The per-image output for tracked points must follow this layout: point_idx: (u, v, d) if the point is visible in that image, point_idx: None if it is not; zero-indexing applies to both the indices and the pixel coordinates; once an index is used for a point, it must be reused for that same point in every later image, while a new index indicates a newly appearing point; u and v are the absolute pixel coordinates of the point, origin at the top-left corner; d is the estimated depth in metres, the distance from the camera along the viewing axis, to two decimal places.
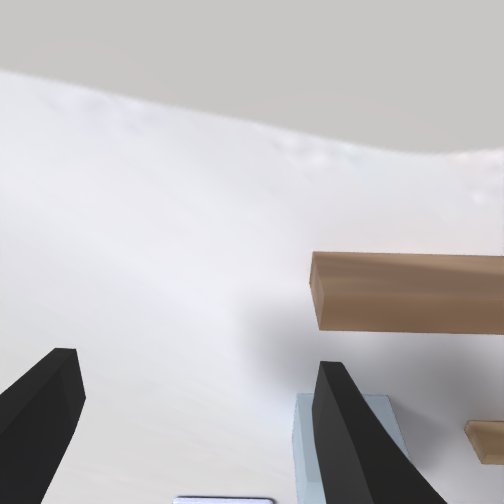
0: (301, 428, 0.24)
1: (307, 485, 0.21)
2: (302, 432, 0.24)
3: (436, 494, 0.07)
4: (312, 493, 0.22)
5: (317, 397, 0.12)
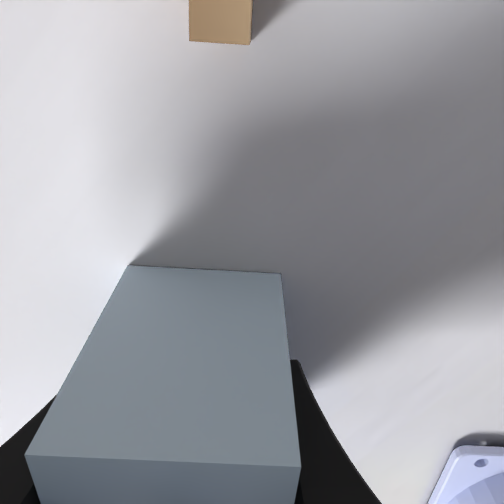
0: None
1: None
2: None
3: (368, 491, 0.07)
4: None
5: None
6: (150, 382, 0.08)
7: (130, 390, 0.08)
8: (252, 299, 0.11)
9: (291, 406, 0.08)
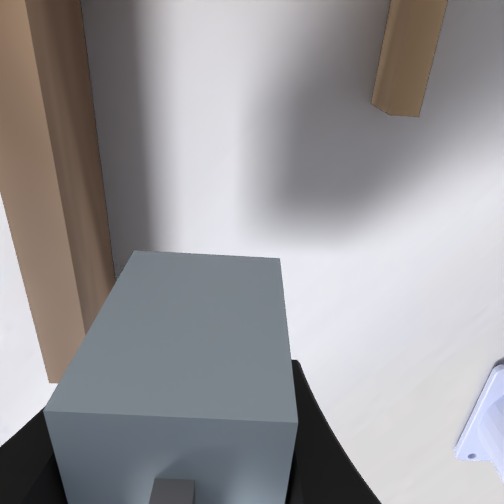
0: None
1: None
2: None
3: (368, 491, 0.07)
4: None
5: None
6: (157, 351, 0.09)
7: (140, 358, 0.08)
8: (252, 280, 0.11)
9: (289, 372, 0.08)
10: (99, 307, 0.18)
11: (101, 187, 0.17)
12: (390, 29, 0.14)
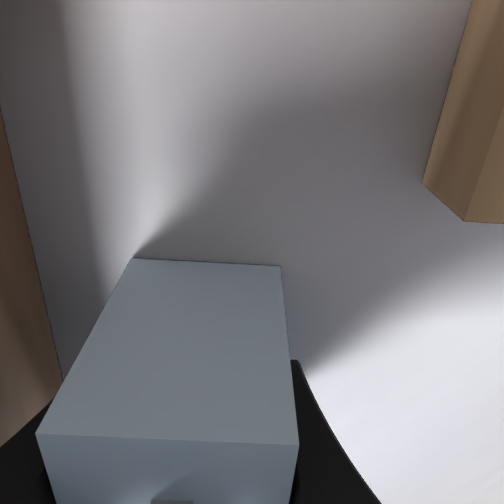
0: None
1: None
2: None
3: (368, 491, 0.07)
4: None
5: None
6: (154, 367, 0.08)
7: (135, 375, 0.08)
8: (252, 290, 0.11)
9: (290, 390, 0.08)
10: None
11: (37, 290, 0.12)
12: (462, 84, 0.09)
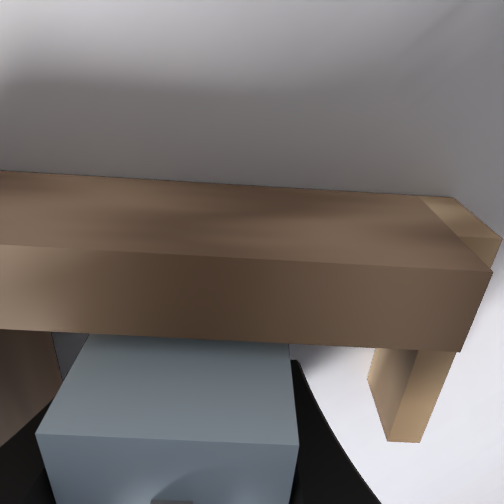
0: None
1: None
2: None
3: (368, 491, 0.07)
4: None
5: None
6: (153, 367, 0.08)
7: (135, 374, 0.08)
8: None
9: (290, 389, 0.08)
10: None
11: None
12: None
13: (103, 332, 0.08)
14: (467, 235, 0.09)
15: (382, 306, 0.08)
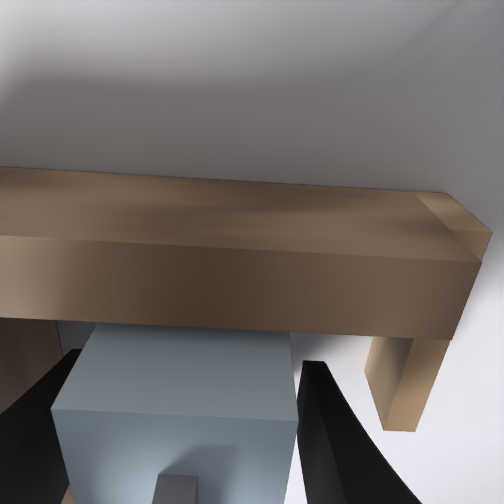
0: None
1: None
2: None
3: (410, 493, 0.07)
4: None
5: (300, 396, 0.12)
6: (161, 351, 0.09)
7: (143, 357, 0.08)
8: None
9: (290, 371, 0.08)
10: None
11: None
12: None
13: (109, 321, 0.09)
14: (459, 228, 0.09)
15: (376, 295, 0.08)
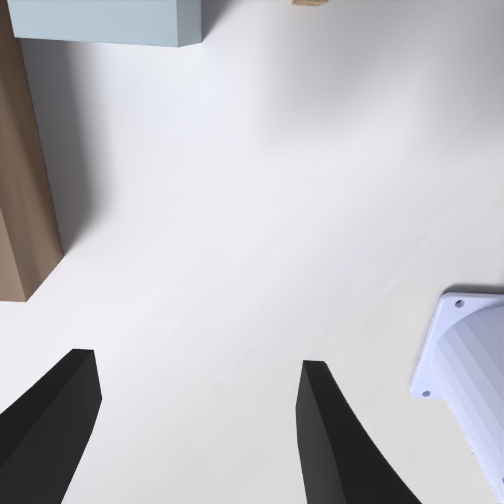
0: None
1: (25, 35, 0.11)
2: None
3: (410, 493, 0.07)
4: (48, 23, 0.11)
5: (300, 396, 0.12)
6: None
7: None
8: None
9: None
10: (30, 224, 0.18)
11: (28, 100, 0.17)
12: None
13: None
14: None
15: None
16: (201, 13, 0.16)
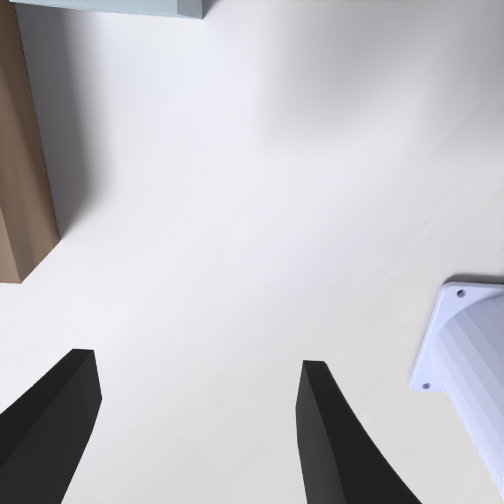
0: None
1: (21, 0, 0.11)
2: None
3: (410, 493, 0.07)
4: None
5: (300, 396, 0.12)
6: None
7: None
8: None
9: None
10: (25, 204, 0.17)
11: (25, 77, 0.17)
12: None
13: None
14: None
15: None
16: None
